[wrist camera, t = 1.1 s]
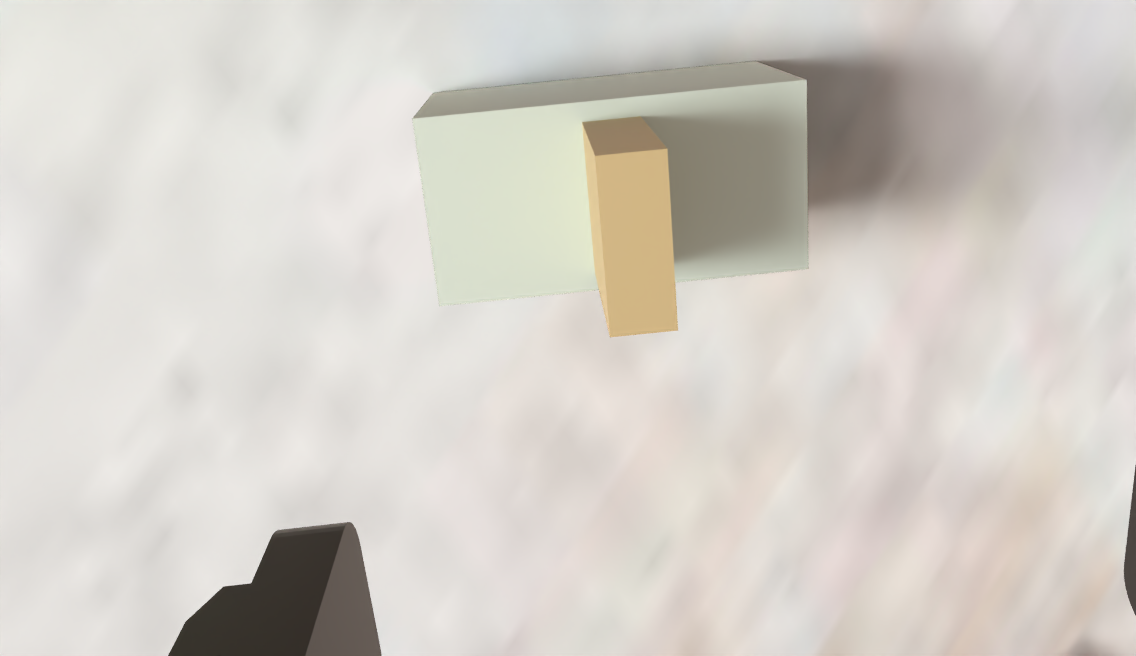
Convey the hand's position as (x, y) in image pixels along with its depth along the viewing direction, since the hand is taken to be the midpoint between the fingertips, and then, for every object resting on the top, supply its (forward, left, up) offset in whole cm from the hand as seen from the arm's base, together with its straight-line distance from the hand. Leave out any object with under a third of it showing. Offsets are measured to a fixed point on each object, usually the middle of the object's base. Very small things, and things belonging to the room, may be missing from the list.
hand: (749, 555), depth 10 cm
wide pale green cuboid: (0, 0, -23) cm, 23 cm away
